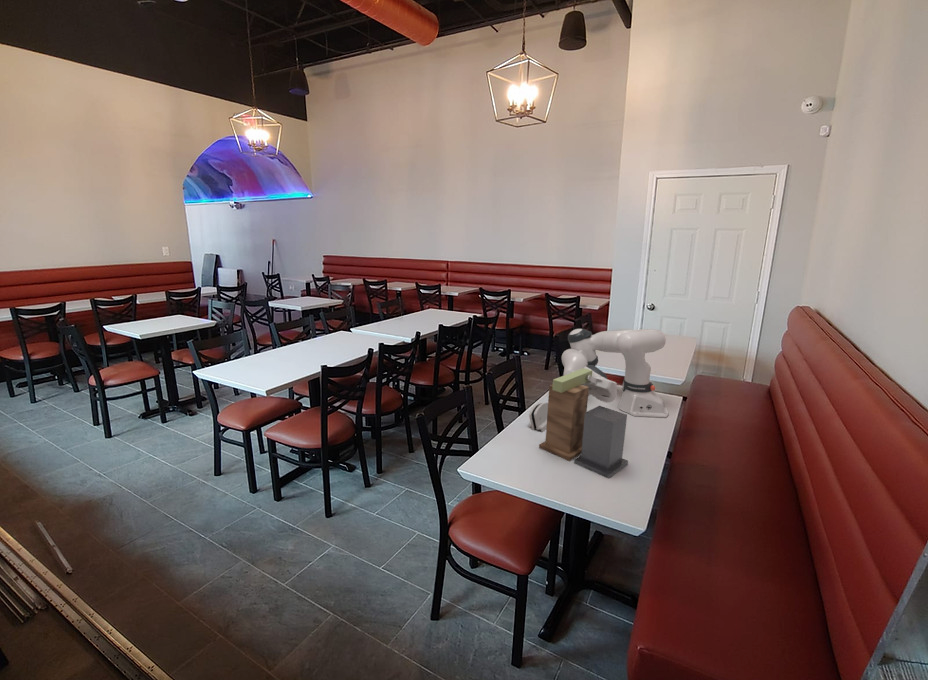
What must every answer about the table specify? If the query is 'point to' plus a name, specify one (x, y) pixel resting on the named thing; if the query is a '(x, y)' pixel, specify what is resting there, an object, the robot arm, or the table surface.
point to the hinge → (539, 416)
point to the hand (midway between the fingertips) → (581, 375)
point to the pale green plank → (571, 380)
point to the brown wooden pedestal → (566, 422)
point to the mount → (603, 441)
